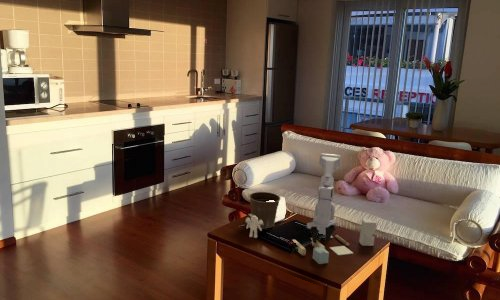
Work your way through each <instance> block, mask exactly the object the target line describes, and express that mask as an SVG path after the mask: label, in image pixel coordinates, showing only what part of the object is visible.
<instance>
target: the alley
mask: <svg viewBox="0 0 500 300" xmlns="http://www.w3.org/2000/svg"><path fill="white" fill-rule="evenodd" d="M310 239H311V240H312V237H310ZM292 241H293V242H294V243H296V245H297V246H298V251H297V252H298V253H299V254H300V255H301V256H306V253H307V249H306V248H305V247H304V246H303V245H302V244H301V243H300V242H299V241H297V240H296V239H291V242H292ZM311 246H312V247H313V248H318V247H323V248H324V249H325V250H326V246H325V245H323V244H322V243H321V242H320V241H318V240H317V242H316V243H314V242H313V240H312V245H311Z"/></svg>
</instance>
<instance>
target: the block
mask: <svg viewBox="0 0 500 300" xmlns="http://www.w3.org/2000/svg"><path fill="white" fill-rule="evenodd" d="M312 250H313V251H312V259H313V260H314V261H315V262H316V263H317V264H318V265H323V264H329V259H330V258H329V257H330V252H329V251H328V250H326V248H325V249H324V248H323V247H318V248H315V247H313V249H312Z"/></svg>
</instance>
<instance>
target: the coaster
mask: <svg viewBox="0 0 500 300" xmlns="http://www.w3.org/2000/svg"><path fill="white" fill-rule="evenodd" d="M329 249H330V250H332V252H334V253H335V254H336V255H337V256H345V255H347V256H348V255H353V254H354V252H353V251H351V250H350V249H349V248H348V247H346V245H340V246H331V247H329Z"/></svg>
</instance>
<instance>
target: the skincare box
mask: <svg viewBox="0 0 500 300" xmlns="http://www.w3.org/2000/svg"><path fill="white" fill-rule="evenodd" d="M376 227H377V222H376V221H375V220H374V219H361V226H360V231H359V232H360V234H359V241H358V242H359V244H360V245H361V246H365V247H366V246H369V247H371V246H374V244H375V237H376V230H377V228H376Z"/></svg>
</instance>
